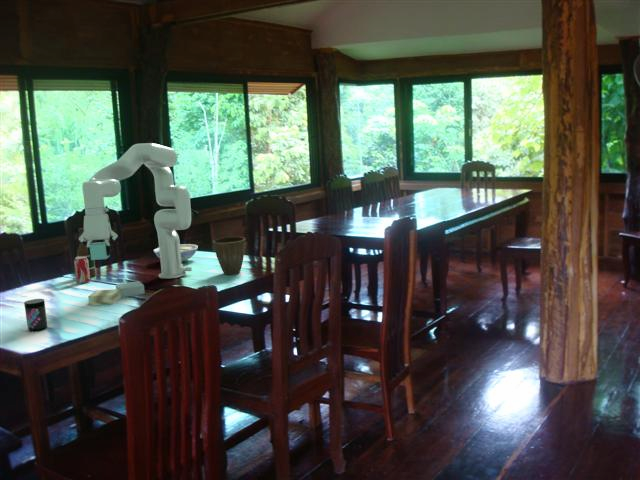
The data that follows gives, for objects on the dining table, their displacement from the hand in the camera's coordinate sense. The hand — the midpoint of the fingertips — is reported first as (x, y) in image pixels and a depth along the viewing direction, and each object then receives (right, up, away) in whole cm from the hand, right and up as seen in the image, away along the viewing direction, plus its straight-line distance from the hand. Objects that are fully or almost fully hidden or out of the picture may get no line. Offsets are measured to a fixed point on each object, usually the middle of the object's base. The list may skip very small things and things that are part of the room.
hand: (100, 255), depth 278 cm
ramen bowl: (+15, -5, +77) cm, 79 cm away
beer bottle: (-23, -12, +53) cm, 59 cm away
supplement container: (-12, -26, -32) cm, 43 cm away
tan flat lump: (+1, -19, +3) cm, 20 cm away
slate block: (+8, -17, +15) cm, 24 cm away
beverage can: (-21, -14, +41) cm, 48 cm away
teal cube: (0, -1, 0) cm, 1 cm away
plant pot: (+48, -10, +42) cm, 65 cm away
